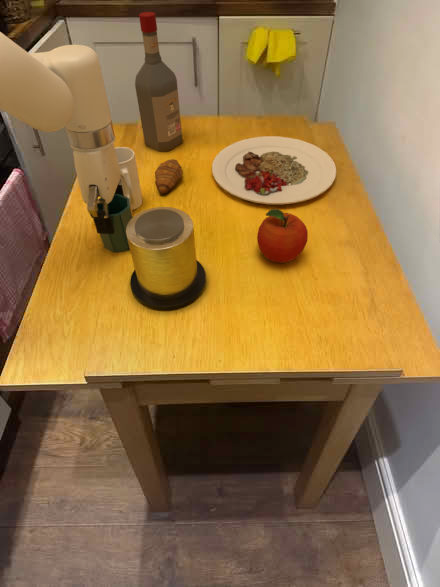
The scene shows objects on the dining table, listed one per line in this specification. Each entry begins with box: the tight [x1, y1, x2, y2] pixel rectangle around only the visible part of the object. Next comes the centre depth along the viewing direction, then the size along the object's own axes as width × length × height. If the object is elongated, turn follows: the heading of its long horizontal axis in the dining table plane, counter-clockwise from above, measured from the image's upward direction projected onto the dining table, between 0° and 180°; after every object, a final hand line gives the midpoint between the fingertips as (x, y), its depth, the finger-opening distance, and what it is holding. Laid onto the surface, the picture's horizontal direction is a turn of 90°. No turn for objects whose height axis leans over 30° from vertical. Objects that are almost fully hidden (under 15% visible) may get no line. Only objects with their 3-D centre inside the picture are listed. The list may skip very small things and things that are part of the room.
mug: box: [114, 146, 143, 211], centre depth 88 cm, size 10×7×12 cm, turn 23°
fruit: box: [256, 208, 309, 264], centre depth 77 cm, size 10×10×10 cm
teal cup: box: [97, 194, 134, 254], centre depth 81 cm, size 7×7×9 cm
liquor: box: [134, 11, 183, 153], centre depth 101 cm, size 9×9×30 cm
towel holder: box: [126, 206, 207, 312], centre depth 71 cm, size 14×14×14 cm
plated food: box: [211, 135, 337, 205], centre depth 99 cm, size 30×30×3 cm
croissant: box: [154, 158, 183, 196], centre depth 97 cm, size 14×7×5 cm, turn 172°
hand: (112, 217), depth 80 cm, fingers open, 9 cm apart
